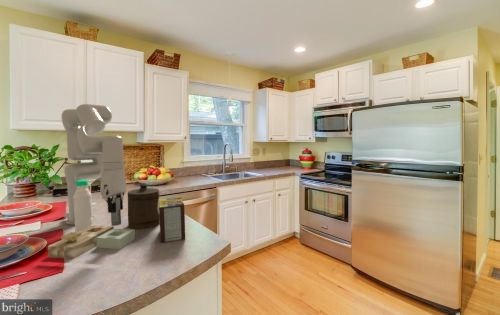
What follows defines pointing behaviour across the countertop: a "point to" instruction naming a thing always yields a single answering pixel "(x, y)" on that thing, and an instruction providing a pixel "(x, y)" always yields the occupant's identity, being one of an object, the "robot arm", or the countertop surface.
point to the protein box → (171, 219)
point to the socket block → (78, 243)
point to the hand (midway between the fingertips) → (115, 210)
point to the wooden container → (143, 208)
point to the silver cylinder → (116, 213)
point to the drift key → (71, 237)
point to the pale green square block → (115, 238)
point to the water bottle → (82, 206)
